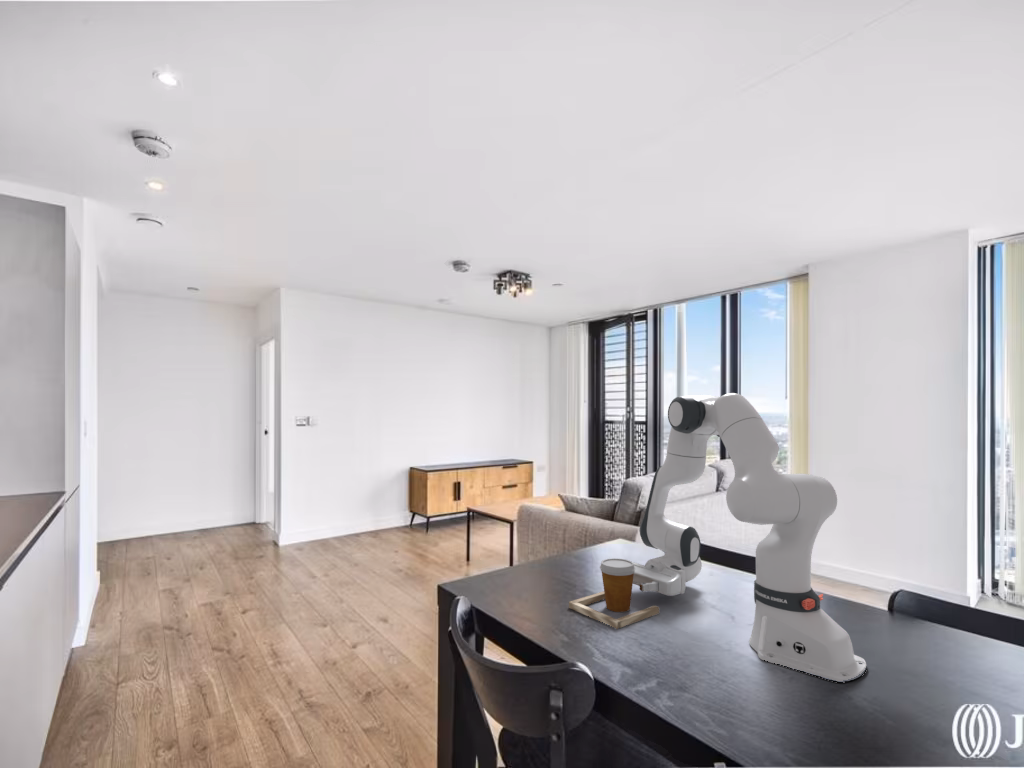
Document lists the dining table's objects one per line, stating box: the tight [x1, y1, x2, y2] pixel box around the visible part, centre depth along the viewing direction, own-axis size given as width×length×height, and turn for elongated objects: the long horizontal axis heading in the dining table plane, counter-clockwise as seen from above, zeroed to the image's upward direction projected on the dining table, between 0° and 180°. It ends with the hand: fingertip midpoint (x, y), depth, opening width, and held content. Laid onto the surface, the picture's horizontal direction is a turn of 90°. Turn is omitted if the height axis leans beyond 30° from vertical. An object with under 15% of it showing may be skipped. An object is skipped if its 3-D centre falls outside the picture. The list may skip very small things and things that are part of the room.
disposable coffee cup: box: [599, 558, 636, 613], centre depth 142 cm, size 10×10×12 cm
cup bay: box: [568, 590, 660, 630], centre depth 140 cm, size 17×16×2 cm
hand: (627, 583), depth 143 cm, fingers open, 8 cm apart
